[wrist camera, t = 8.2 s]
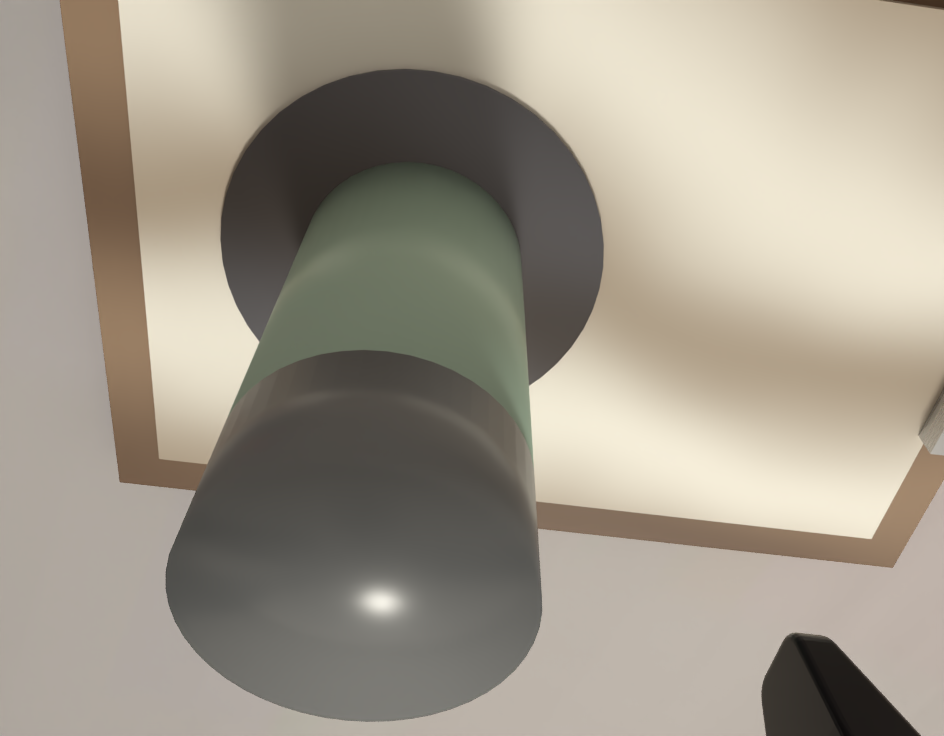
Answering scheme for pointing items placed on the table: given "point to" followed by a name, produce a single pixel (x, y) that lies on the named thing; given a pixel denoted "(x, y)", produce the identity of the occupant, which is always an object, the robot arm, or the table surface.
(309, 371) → the canister
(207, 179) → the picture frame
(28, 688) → the table surface
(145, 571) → the table surface
